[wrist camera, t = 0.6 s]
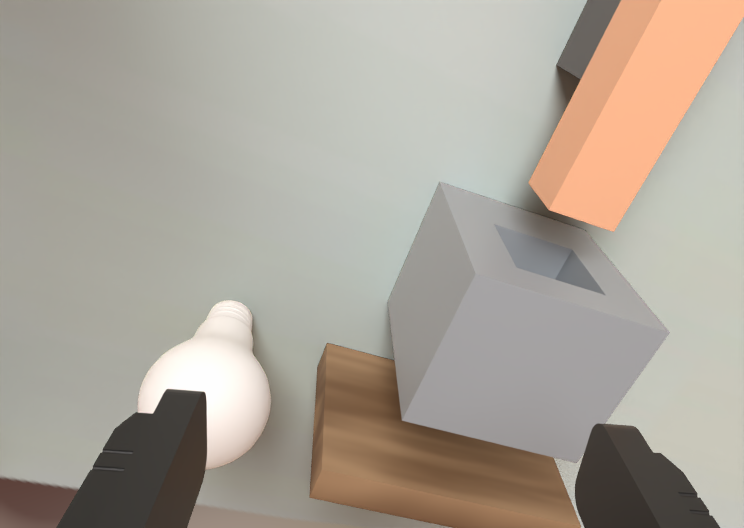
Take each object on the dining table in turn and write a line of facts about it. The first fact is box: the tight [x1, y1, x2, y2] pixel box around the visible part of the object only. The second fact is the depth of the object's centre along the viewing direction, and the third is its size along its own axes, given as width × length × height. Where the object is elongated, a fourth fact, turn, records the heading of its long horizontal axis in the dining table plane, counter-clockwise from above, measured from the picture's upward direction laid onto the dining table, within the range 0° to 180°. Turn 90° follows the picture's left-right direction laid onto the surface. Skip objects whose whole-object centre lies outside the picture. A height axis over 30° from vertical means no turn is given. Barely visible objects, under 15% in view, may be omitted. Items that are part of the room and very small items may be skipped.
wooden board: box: [309, 343, 581, 528], centre depth 34 cm, size 2×14×10 cm, turn 70°
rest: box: [557, 0, 621, 79], centre depth 27 cm, size 6×3×4 cm, turn 160°
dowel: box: [528, 0, 744, 232], centre depth 23 cm, size 16×3×3 cm, turn 160°
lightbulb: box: [138, 300, 271, 469], centre depth 31 cm, size 6×6×11 cm
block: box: [388, 182, 670, 463], centre depth 30 cm, size 8×9×10 cm
